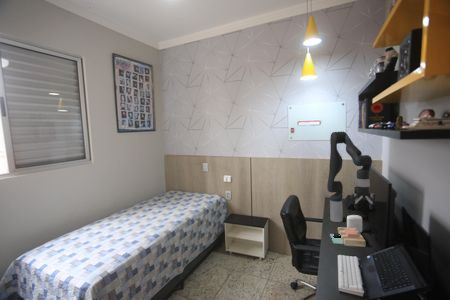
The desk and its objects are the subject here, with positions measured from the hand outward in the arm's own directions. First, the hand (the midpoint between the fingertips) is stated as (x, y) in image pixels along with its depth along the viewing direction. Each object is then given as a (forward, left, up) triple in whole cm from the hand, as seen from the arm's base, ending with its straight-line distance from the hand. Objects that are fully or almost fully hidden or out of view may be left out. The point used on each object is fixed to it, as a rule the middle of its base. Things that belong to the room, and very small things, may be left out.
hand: (363, 208), depth 151 cm
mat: (0, -17, -22) cm, 28 cm away
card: (0, -8, -18) cm, 20 cm away
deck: (-1, -8, -22) cm, 23 cm away
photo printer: (-14, -2, -22) cm, 26 cm away
